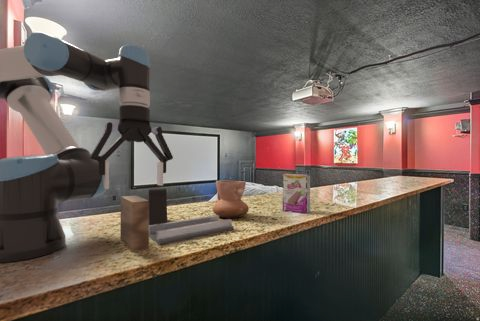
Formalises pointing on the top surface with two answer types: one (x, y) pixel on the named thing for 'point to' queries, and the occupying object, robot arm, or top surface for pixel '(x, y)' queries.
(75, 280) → the top surface
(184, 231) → the door track
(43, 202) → the robot arm
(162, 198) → the door stopper
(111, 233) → the top surface
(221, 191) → the ceramic jug
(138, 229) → the brown wooden block
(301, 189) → the candy bar box
